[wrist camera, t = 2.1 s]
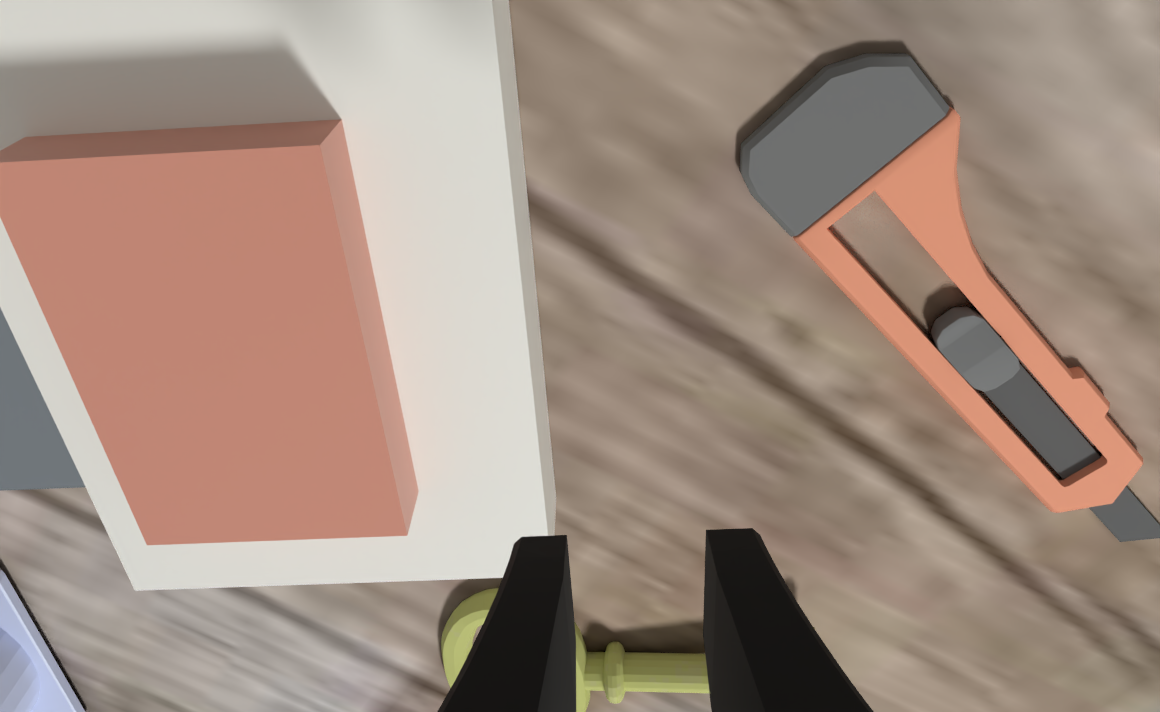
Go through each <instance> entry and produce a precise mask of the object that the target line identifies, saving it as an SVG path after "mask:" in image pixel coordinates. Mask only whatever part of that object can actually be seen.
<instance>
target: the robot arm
mask: <svg viewBox="0 0 1160 712" xmlns="http://www.w3.org/2000/svg"><path fill="white" fill-rule="evenodd" d="M703 637H704V647H705V656H706V665H707V675H708V683H709V692H710V701H711V709H712V712H873V710H872V709H871V708H870V706H869V705H868V704H867V703H866V701H865V700H864V699H863V697H862V696H861V695H860V694H859V692H858V691H857V689H856V688H855V687H854V685H853V684H852V683H851V681H850V680H849V678H848V677H847V676H846V674H845V673H844V672H843V670H842V669H841V667H840V666H839V664H838V663H837V662H836V660H835V659H834V657H833V656H832V654H831V653H830V651H829V650H828V648H827V647H826V646H825V644H824V643H823V641H822V640H821V638H820V637H819V635H818V634H817V632H816V631H815V629H814V628H813V626H812V625H811V623H810V622H809V620H808V619H807V617H806V616H805V614H804V612H803V611H802V609H801V608H800V606H799V604H798V603H797V601H796V599H795V598H794V596H793V595H792V593H791V591H790V590H789V588H788V586H787V585H786V583H785V581H784V579H783V578H782V576H781V574H780V573H779V571H778V569H777V567H776V565H775V564H774V562H773V560H772V558H771V556H770V554H769V552H768V550H767V548H766V546H765V544H764V542H763V540H762V538H761V536H760V534H758V533H757V532H756V531H755V530H754V529H752V528H748V529H720V530H706V551H705V587H704V623H703ZM0 712H85V710H84V709H83V707H82V705H81V703H80V702H79V700H78V698H77V697H76V695H75V693H74V691H73V690H72V688H71V686H70V685H69V683H68V681H67V679H66V678H65V676H64V674H63V673H62V671H61V669H60V667H59V666H58V664H57V662H56V661H55V659H54V657H53V655H52V654H51V652H50V650H49V648H48V647H47V645H46V643H45V642H44V640H43V638H42V636H41V635H40V633H39V631H38V630H37V628H36V626H35V624H34V623H33V621H32V619H31V618H30V616H29V614H28V612H27V611H26V609H25V607H24V606H23V604H22V602H21V600H20V599H19V597H18V595H17V593H16V592H15V590H14V588H13V587H12V585H11V583H10V581H9V580H8V578H7V576H6V575H5V573H4V572H3V571H2V570H1V569H0ZM438 712H576V634H575V622H574V611H573V600H572V589H571V578H570V567H569V555H568V544H567V535H556V536H529V537H521V538H520V539H519V540H517V541H516V542H515V543H514V545H513V549H512V552H511V556H510V559H509V562H508V565H507V567H506V570H505V573H504V576H503V578H502V581H501V584H500V586H499V589H498V591H497V594H496V596H495V598H494V601H493V603H492V605H491V607H490V610H489V612H488V614H487V617H486V619H485V621H484V623H483V625H482V627H481V630H480V632H479V634H478V636H477V638H476V640H475V642H474V644H473V646H472V648H471V650H470V652H469V654H468V656H467V658H466V660H465V662H464V664H463V667H462V668H461V670H460V672H459V674H458V676H457V678H456V680H455V682H454V684H453V685H452V687H451V689H450V691H449V692H448V694H447V696H446V698H445V700H444V701H443V703H442V705H441V707H440V708H439V710H438Z"/></svg>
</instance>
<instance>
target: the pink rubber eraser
mask: <svg viewBox="0 0 1160 712" xmlns="http://www.w3.org/2000/svg"><path fill="white" fill-rule="evenodd" d="M0 218H1V220H2V222H3V225H4V227H5V229H6V231H7V234H8V236H9V238H10V240H11V243H12V245H13V247H14V249H15V251H16V254H17V256H18V258H19V260H20V263H21V265H22V267H23V269H24V272H25V274H26V276H27V278H28V281H29V283H30V285H31V287H32V290H33V292H34V294H35V296H36V298H37V301H38V303H39V305H40V307H41V310H42V312H43V314H44V316H45V319H46V321H47V323H48V325H49V328H50V330H51V332H52V334H53V336H54V339H55V341H56V343H57V345H58V348H59V350H60V352H61V354H62V357H63V359H64V361H65V363H66V366H67V368H68V370H69V372H70V374H71V377H72V379H73V381H74V383H75V386H76V388H77V390H78V392H79V395H80V397H81V399H82V401H83V404H84V406H85V408H86V410H87V413H88V415H89V417H90V419H91V421H92V424H93V426H94V428H95V430H96V433H97V435H98V437H99V439H100V442H101V444H102V446H103V448H104V451H105V453H106V455H107V457H108V459H109V462H110V464H111V466H112V468H113V471H114V473H115V475H116V477H117V480H118V482H119V484H120V486H121V489H122V491H123V493H124V495H125V497H126V500H127V502H128V504H129V506H130V509H131V511H132V513H133V515H134V518H135V520H136V522H137V524H138V527H139V529H140V531H141V533H142V536H143V538H144V540H145V542H146V544H147V545H171V544H198V543H225V542H252V541H279V540H306V539H334V538H361V537H388V536H407V535H408V531H409V528H410V524H411V520H412V516H413V512H414V508H415V504H416V500H417V496H418V492H419V491H418V486H417V481H416V476H415V471H414V466H413V462H412V457H411V452H410V447H409V442H408V437H407V433H406V428H405V423H404V418H403V413H402V408H401V404H400V399H399V394H398V389H397V384H396V379H395V375H394V370H393V365H392V360H391V355H390V350H389V345H388V341H387V336H386V331H385V326H384V321H383V316H382V312H381V307H380V302H379V297H378V292H377V287H376V283H375V278H374V273H373V268H372V263H371V258H370V254H369V249H368V244H367V239H366V234H365V229H364V224H363V220H362V215H361V210H360V205H359V200H358V195H357V191H356V186H355V181H354V176H353V171H352V166H351V162H350V157H349V152H348V147H347V142H346V137H345V133H344V128H343V123H342V119H338V120H320V121H302V122H285V123H267V124H249V125H231V126H213V127H195V128H177V129H159V130H141V131H123V132H105V133H87V134H69V135H51V136H33V137H24V138H22V139H21V140H19V141H17V142H15V143H13V144H12V145H10V146H8V147H6V148H4V149H2V150H1V151H0Z"/></svg>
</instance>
